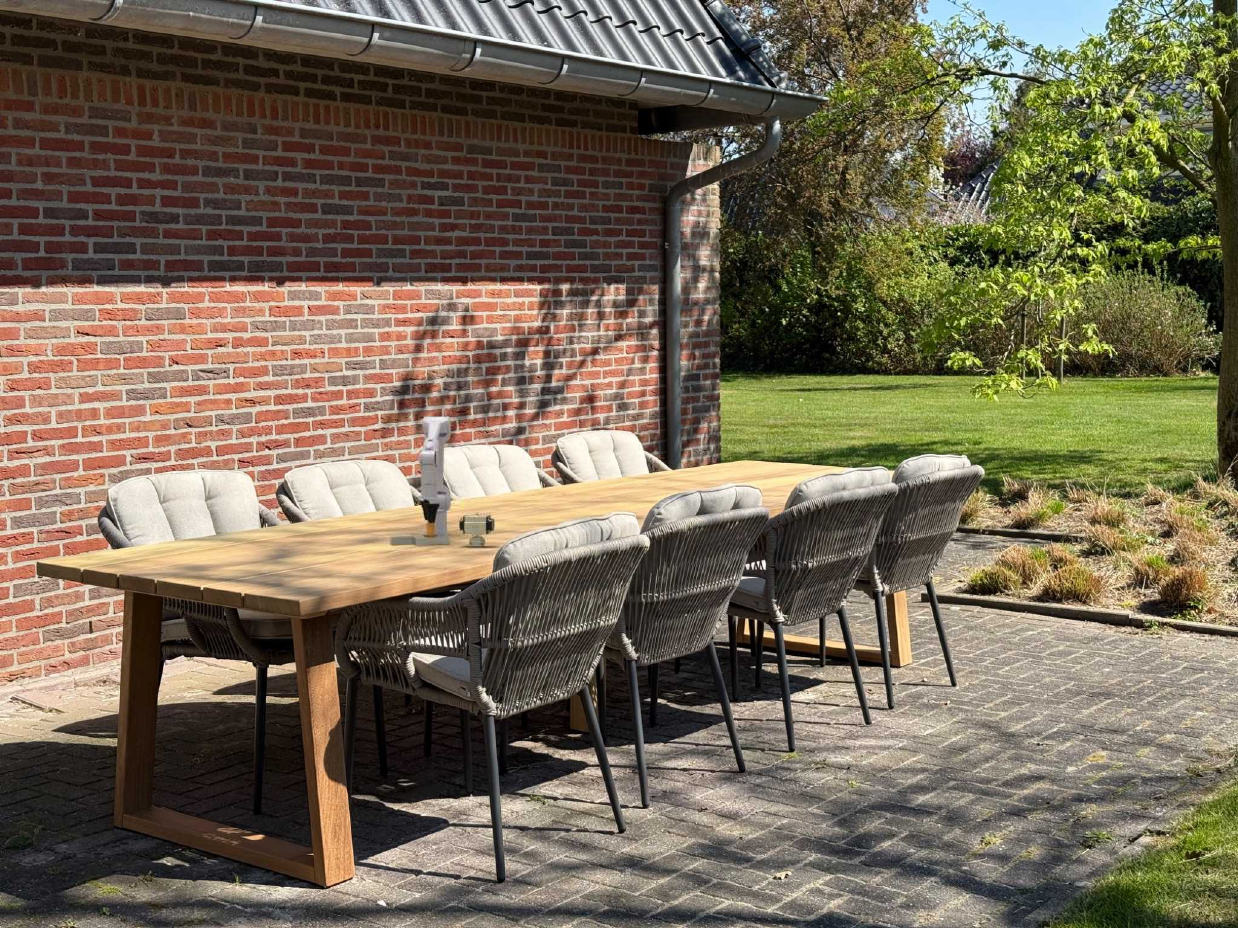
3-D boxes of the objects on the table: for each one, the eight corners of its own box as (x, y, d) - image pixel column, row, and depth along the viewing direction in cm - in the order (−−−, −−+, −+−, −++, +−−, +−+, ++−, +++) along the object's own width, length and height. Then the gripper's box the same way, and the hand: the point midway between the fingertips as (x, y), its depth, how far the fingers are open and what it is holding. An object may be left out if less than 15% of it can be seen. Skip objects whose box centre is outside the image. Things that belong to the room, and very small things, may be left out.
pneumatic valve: (462, 545, 526) (462, 511, 525) (495, 545, 525) (494, 512, 523) (458, 547, 521) (458, 513, 520) (491, 548, 519) (491, 513, 518)
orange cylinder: (425, 542, 534) (425, 522, 533) (433, 541, 535) (433, 522, 534) (427, 543, 531) (427, 523, 530) (435, 542, 532) (435, 523, 532)
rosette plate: (388, 542, 534) (388, 535, 534) (443, 539, 540) (443, 532, 540) (393, 546, 523) (393, 539, 523) (449, 544, 529) (449, 537, 529)
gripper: (414, 482, 537) (415, 519, 538) (421, 486, 523) (422, 524, 524) (434, 481, 539) (434, 518, 540) (441, 485, 525) (441, 523, 526)
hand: (429, 521), depth 532 cm, fingers open, 7 cm apart
